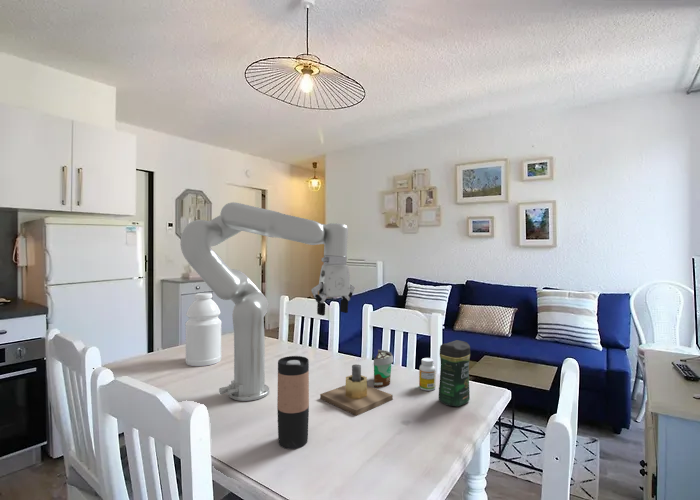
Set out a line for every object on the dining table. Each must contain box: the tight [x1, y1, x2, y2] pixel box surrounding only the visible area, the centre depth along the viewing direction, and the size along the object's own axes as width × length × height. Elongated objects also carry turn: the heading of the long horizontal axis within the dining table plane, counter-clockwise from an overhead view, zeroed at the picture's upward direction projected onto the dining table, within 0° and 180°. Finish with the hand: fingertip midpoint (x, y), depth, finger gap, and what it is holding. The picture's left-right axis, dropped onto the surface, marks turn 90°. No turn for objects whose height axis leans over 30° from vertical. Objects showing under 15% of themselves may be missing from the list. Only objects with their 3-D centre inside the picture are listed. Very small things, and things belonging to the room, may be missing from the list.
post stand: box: [319, 364, 394, 417], centre depth 117 cm, size 16×16×10 cm
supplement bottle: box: [418, 357, 437, 392], centre depth 127 cm, size 5×5×10 cm
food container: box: [373, 349, 394, 388], centre depth 131 cm, size 12×6×10 cm, turn 168°
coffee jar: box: [438, 339, 471, 407], centre depth 116 cm, size 10×8×19 cm
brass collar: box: [345, 374, 368, 399], centre depth 117 cm, size 7×7×5 cm
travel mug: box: [276, 355, 310, 450], centre depth 92 cm, size 8×8×20 cm
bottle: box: [184, 292, 223, 367], centre depth 154 cm, size 14×14×28 cm
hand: (332, 313), depth 123 cm, fingers open, 9 cm apart
